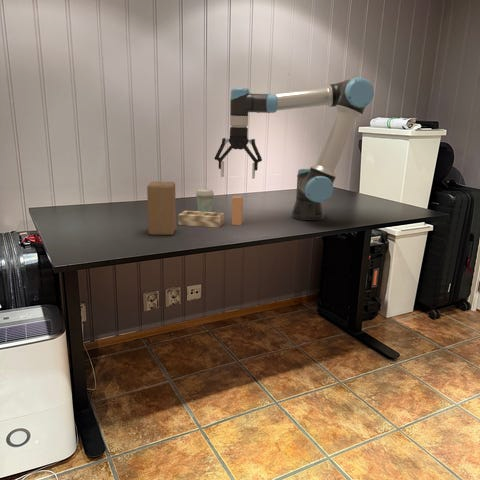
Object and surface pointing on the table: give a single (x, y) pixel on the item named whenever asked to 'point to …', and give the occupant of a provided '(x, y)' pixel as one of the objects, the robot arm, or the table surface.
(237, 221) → the peg
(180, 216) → the socket block
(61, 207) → the table surface
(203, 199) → the coffee cup
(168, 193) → the block
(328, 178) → the robot arm
